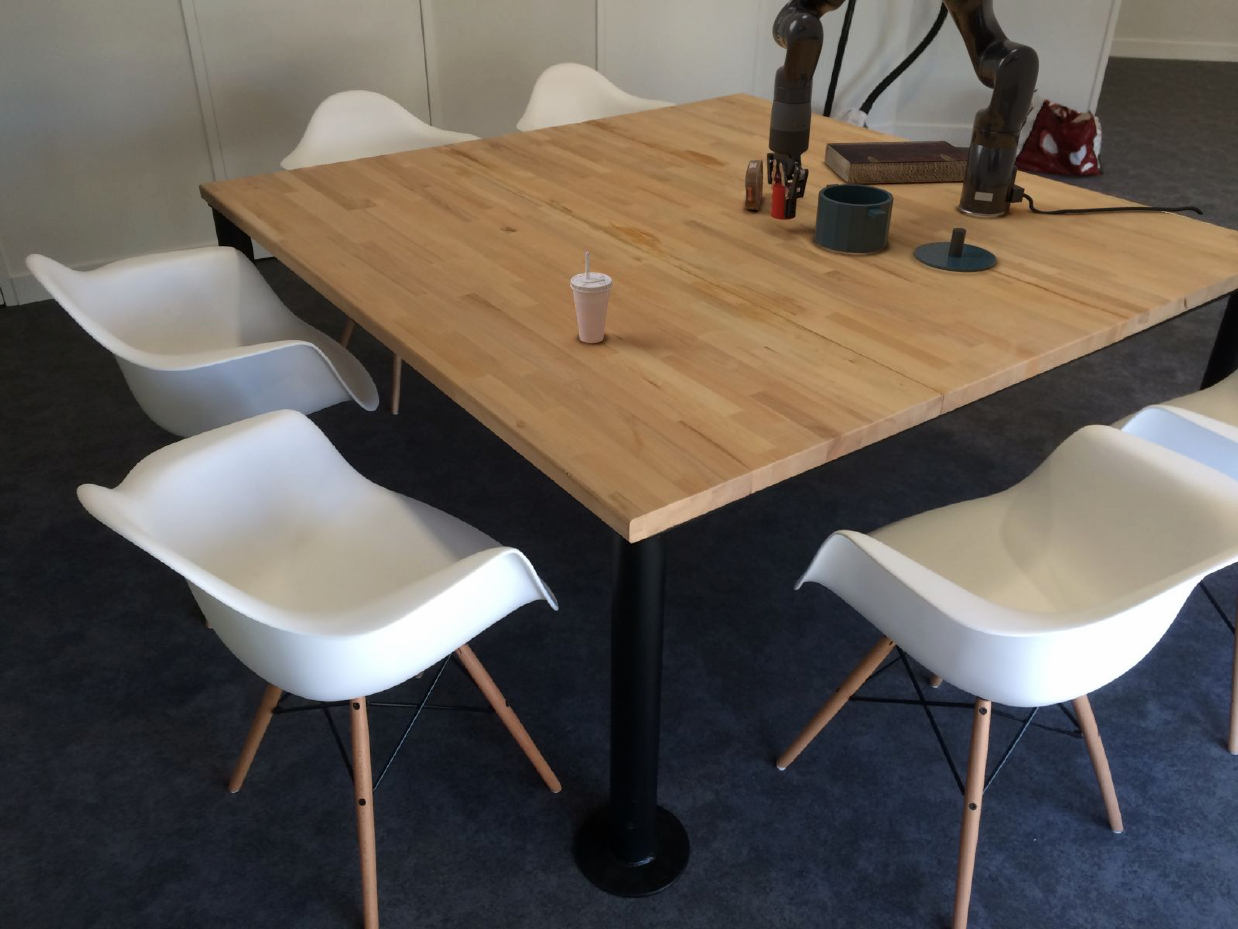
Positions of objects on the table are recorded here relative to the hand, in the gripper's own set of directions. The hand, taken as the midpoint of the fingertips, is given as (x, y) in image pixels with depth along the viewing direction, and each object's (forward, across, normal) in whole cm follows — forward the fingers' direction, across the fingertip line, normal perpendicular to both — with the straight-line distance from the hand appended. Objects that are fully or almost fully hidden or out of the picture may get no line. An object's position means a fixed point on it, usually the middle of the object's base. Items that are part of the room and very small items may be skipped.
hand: (783, 212), depth 208 cm
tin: (+4, +18, -2) cm, 19 cm away
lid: (+3, -24, -24) cm, 34 cm away
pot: (+4, -10, -10) cm, 14 cm away
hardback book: (+4, +31, -44) cm, 54 cm away
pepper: (+1, 0, 0) cm, 1 cm away
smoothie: (+3, -38, +50) cm, 63 cm away
